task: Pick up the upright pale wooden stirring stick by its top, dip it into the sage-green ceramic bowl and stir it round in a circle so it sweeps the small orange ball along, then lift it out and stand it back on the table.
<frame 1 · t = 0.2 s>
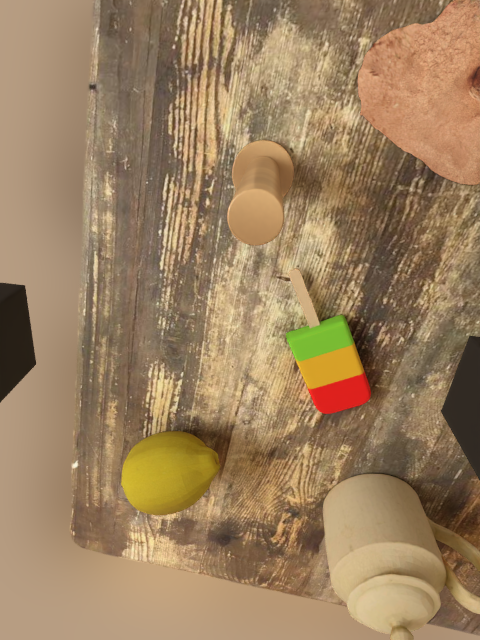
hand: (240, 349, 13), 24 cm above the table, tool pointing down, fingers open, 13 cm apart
sugar bowl: (385, 501, 48), on the table
lemon: (178, 442, 47), on the table
popsicle: (320, 336, 40), on the table
stick: (262, 172, 34), on the table
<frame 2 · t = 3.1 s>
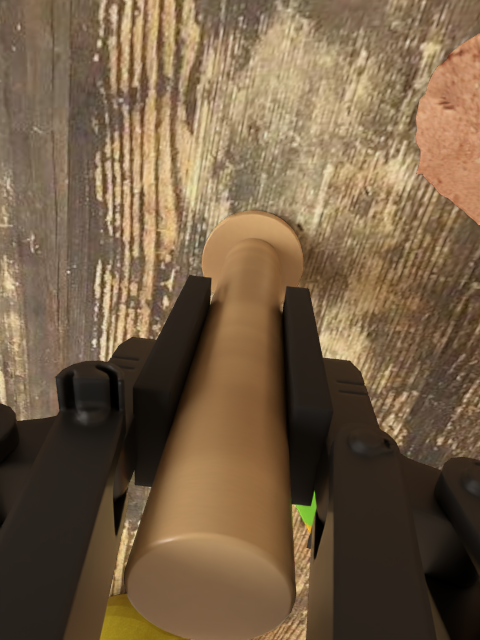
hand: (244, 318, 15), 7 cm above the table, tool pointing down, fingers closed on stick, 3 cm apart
lemon: (139, 599, 34), on the table
popsicle: (339, 482, 27), on the table
stick: (252, 260, 21), on the table, touching gripper
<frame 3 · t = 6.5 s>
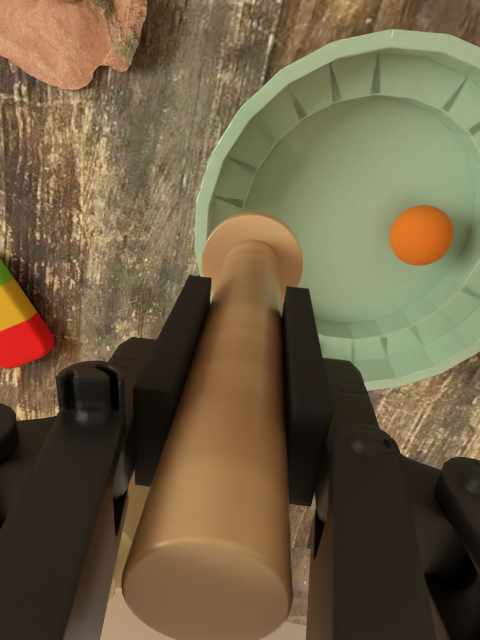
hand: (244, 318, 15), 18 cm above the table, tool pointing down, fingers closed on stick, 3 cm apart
sugar bowl: (125, 470, 44), on the table
bowl: (354, 220, 31), on the table
ball: (420, 235, 29), point 3 cm above the table, touching bowl
stick: (252, 261, 21), point 12 cm above the table, touching gripper
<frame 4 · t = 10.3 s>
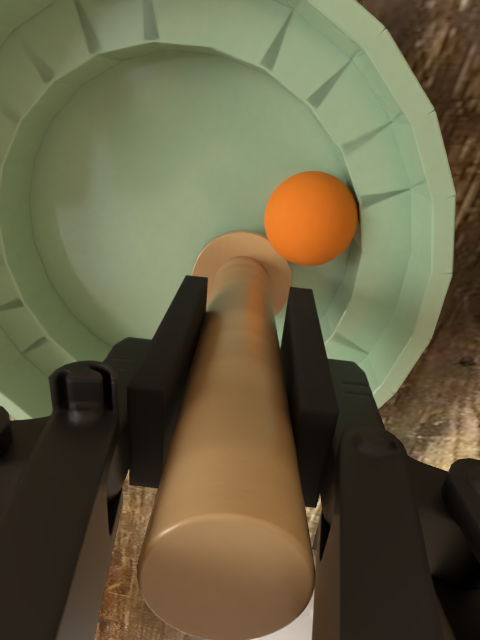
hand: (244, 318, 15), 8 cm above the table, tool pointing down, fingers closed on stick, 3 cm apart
teapot: (338, 634, 37), on the table
bowl: (190, 236, 22), on the table
ball: (310, 219, 19), point 3 cm above the table, tilted 69°, touching bowl, stick
stick: (241, 278, 21), point 2 cm above the table, tilted 6°, touching ball, gripper
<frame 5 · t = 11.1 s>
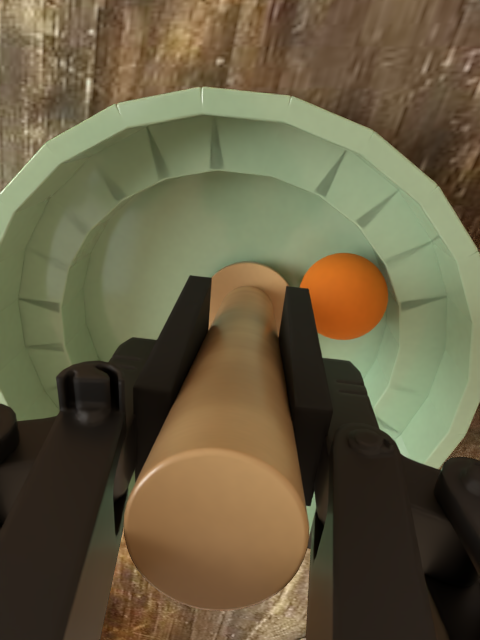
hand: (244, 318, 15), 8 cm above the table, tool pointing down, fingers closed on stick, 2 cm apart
bowl: (232, 317, 23), on the table
ball: (342, 296, 20), point 3 cm above the table, tilted 62°, touching bowl
stick: (247, 309, 21), point 2 cm above the table, tilted 13°, touching gripper
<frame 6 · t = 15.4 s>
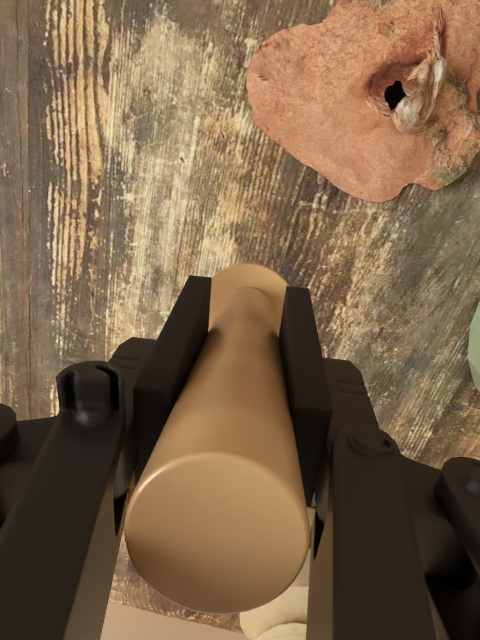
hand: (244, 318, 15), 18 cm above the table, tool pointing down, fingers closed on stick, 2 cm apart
sugar bowl: (312, 534, 45), on the table
clay slab: (384, 101, 28), on the table
stick: (247, 310, 21), point 12 cm above the table, tilted 13°, touching gripper
when the fingers open (7 cm above the table, at t = 18.9 s): stick stays where it is, on the table.
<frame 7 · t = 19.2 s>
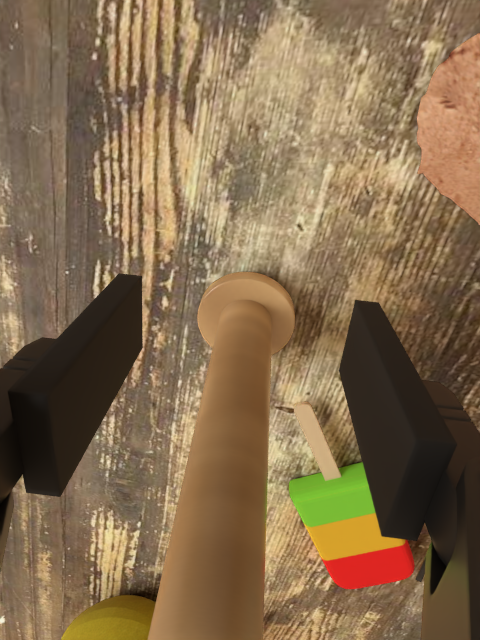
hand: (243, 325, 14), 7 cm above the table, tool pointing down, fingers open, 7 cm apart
lemon: (139, 600, 34), on the table
popsicle: (339, 484, 27), on the table
stick: (246, 313, 22), on the table, tilted 7°
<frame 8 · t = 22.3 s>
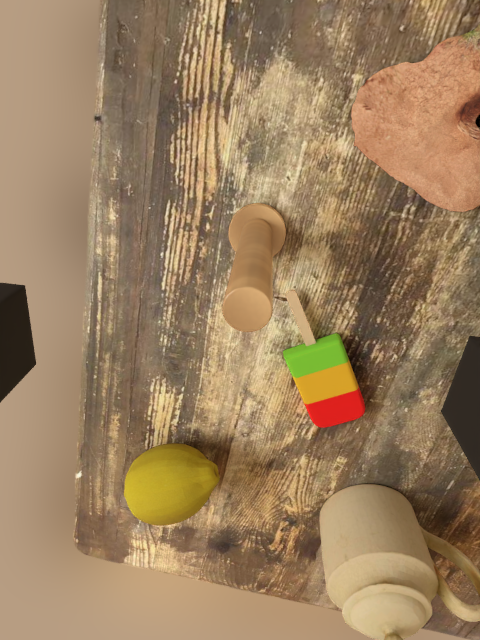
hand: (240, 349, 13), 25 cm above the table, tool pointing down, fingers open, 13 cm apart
sugar bowl: (380, 510, 50), on the table
lemon: (179, 453, 48), on the table
popsicle: (316, 353, 41), on the table
clay slab: (471, 124, 32), on the table
stick: (257, 231, 36), on the table
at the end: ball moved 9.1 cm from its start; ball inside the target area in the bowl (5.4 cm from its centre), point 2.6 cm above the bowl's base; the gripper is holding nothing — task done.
